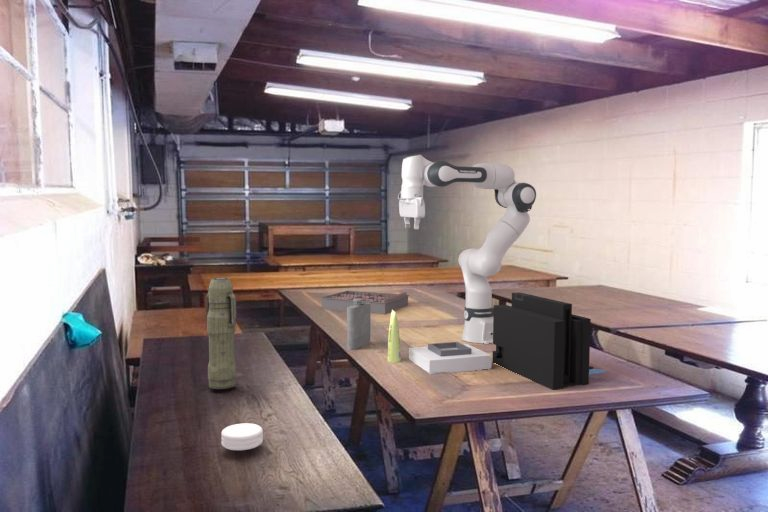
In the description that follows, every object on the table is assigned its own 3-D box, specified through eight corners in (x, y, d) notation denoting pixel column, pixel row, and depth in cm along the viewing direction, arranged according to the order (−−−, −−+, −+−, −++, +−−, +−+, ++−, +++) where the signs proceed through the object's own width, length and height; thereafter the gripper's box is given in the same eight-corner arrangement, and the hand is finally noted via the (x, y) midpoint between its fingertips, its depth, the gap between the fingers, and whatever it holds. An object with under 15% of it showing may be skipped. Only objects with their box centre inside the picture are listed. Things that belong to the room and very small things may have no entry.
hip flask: (352, 351, 252) (352, 302, 250) (343, 350, 254) (343, 301, 252) (371, 343, 266) (371, 297, 264) (363, 342, 268) (363, 296, 266)
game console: (492, 363, 234) (493, 292, 232) (558, 356, 246) (560, 288, 243) (552, 389, 202) (555, 306, 199) (625, 379, 214) (628, 301, 211)
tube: (383, 362, 235) (383, 310, 234) (391, 359, 239) (392, 308, 237) (395, 364, 231) (395, 312, 230) (403, 362, 235) (403, 310, 234)
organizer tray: (347, 303, 372) (347, 287, 371) (409, 309, 355) (409, 291, 354) (319, 312, 343) (319, 294, 343) (385, 318, 326) (385, 299, 326)
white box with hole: (466, 356, 245) (467, 338, 244) (491, 369, 226) (491, 349, 225) (408, 360, 237) (409, 342, 237) (429, 374, 218) (429, 354, 218)
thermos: (216, 379, 211) (214, 275, 209) (245, 383, 207) (243, 277, 204) (198, 386, 203) (196, 278, 200) (228, 390, 199) (226, 280, 196)
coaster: (213, 447, 153) (212, 433, 153) (236, 433, 163) (236, 420, 162) (248, 453, 150) (248, 439, 149) (270, 439, 159) (270, 425, 159)
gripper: (429, 194, 247) (428, 229, 248) (410, 194, 266) (410, 227, 267) (414, 194, 245) (413, 229, 246) (396, 194, 264) (396, 227, 265)
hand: (411, 228), depth 257 cm, fingers open, 8 cm apart
